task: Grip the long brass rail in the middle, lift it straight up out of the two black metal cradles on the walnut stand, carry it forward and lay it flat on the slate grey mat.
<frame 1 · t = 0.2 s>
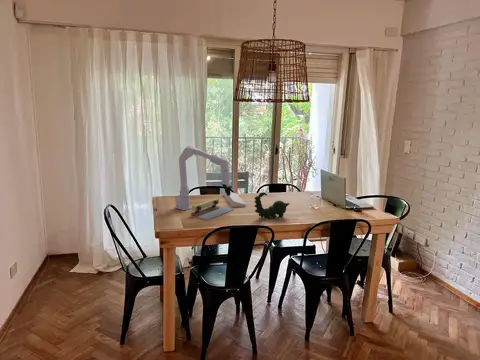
hand: (227, 194, 254), 11 cm above the table, tool pointing down, fingers open, 7 cm apart
rail stand: (205, 211, 248), on the table
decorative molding: (234, 201, 278), on the table
toy figurine: (271, 217, 239), on the table
mat: (216, 213, 243), on the table
rail: (205, 206, 247), point 3 cm above the table, touching rail stand
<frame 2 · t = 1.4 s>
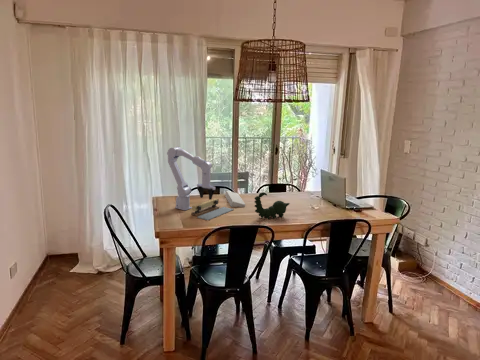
hand: (205, 198, 246), 9 cm above the table, tool pointing down, fingers open, 7 cm apart
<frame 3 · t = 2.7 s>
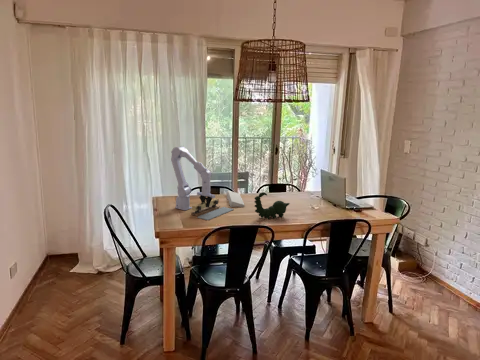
hand: (205, 206, 247), 3 cm above the table, tool pointing down, fingers closed on rail, 3 cm apart
rail: (205, 206, 247), point 3 cm above the table, touching gripper, rail stand
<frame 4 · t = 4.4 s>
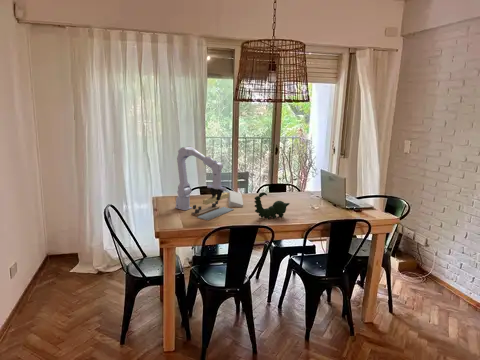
hand: (216, 199, 241), 10 cm above the table, tool pointing down, fingers closed on rail, 3 cm apart
rail: (216, 200, 241), point 9 cm above the table, touching gripper
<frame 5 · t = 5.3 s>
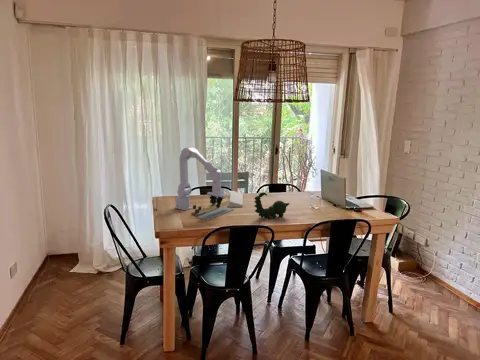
hand: (216, 207, 242), 5 cm above the table, tool pointing down, fingers closed on rail, 3 cm apart
rail: (216, 207, 242), point 4 cm above the table, touching gripper
when the fingers open (2 cm above the table, at t = 6.2 s): rail stays where it is, resting on mat.
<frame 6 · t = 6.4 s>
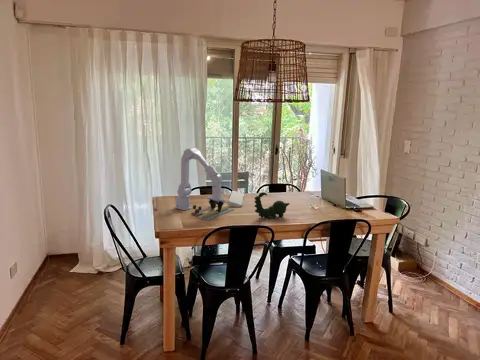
hand: (216, 211, 243), 2 cm above the table, tool pointing down, fingers open, 5 cm apart
rail: (216, 212, 243), point 1 cm above the table, touching mat
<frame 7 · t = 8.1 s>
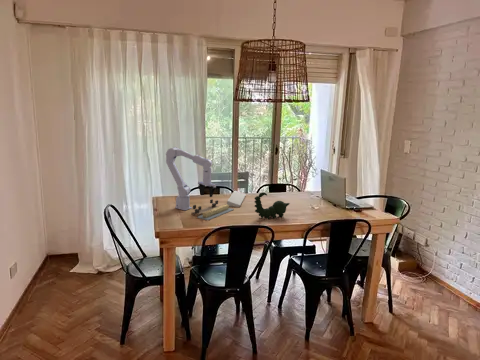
hand: (206, 195, 249), 10 cm above the table, tool pointing down, fingers open, 7 cm apart
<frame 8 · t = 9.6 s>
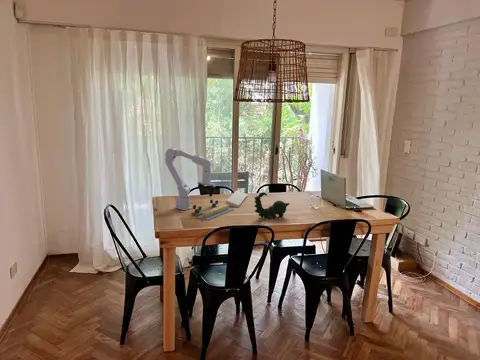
hand: (206, 195, 249), 10 cm above the table, tool pointing down, fingers open, 7 cm apart
at the end: rail 0.0 cm off-centre on the mat, point 0.6 cm above the mat's base; rail tilted 0°; the gripper is holding nothing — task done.
